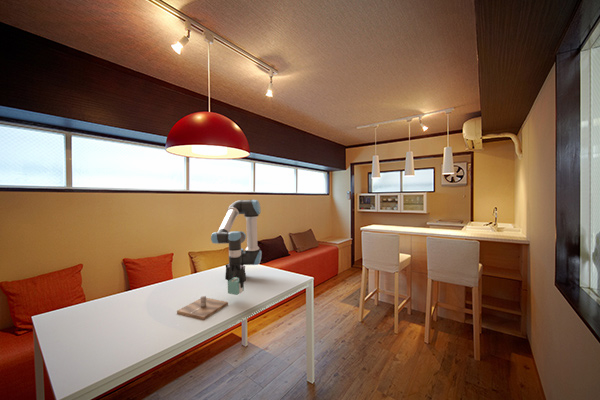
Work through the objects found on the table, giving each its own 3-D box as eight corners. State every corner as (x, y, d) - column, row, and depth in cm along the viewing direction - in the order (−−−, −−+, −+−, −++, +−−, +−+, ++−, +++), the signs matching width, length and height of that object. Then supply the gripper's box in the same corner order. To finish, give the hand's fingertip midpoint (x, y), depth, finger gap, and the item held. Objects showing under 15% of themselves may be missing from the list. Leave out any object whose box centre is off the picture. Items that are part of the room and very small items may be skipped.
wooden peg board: (203, 299, 155) (203, 288, 155) (228, 304, 148) (227, 293, 148) (176, 313, 137) (176, 301, 137) (203, 319, 129) (203, 307, 129)
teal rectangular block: (234, 289, 157) (234, 276, 156) (243, 290, 154) (243, 277, 154) (227, 293, 150) (227, 279, 150) (237, 295, 148) (236, 281, 147)
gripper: (218, 256, 151) (219, 291, 152) (244, 259, 144) (245, 296, 145) (226, 253, 158) (227, 287, 159) (251, 255, 151) (252, 291, 152)
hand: (235, 291), depth 152 cm, fingers closed on teal rectangular block, 7 cm apart
